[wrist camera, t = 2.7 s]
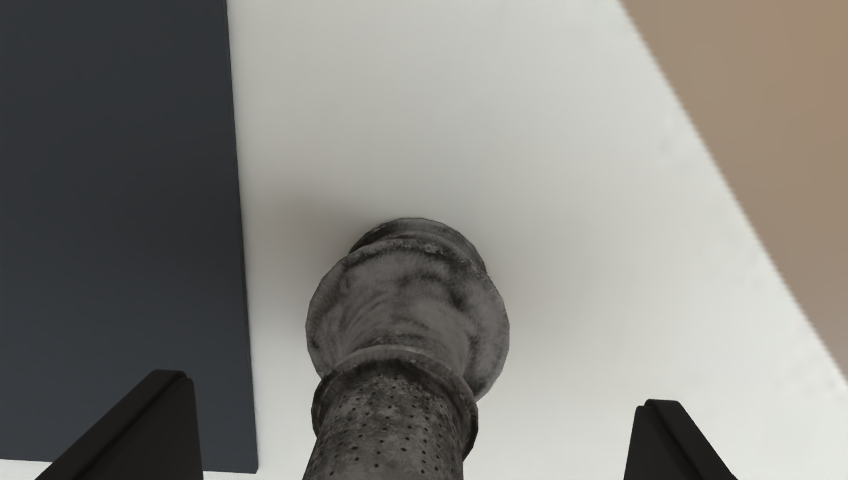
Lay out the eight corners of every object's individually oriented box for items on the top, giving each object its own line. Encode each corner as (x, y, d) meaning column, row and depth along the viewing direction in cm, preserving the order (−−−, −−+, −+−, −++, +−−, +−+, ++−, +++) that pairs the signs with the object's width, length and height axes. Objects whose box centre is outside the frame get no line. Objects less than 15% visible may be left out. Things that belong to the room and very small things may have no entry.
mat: (-183, -117, 15) (-195, -121, 15) (219, -106, 15) (214, -110, 15) (-34, 451, 21) (-41, 457, 21) (258, 468, 21) (255, 474, 20)
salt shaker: (362, 183, 17) (196, 379, 6) (525, 245, 18) (677, 546, 6) (310, 332, 19) (99, 717, 7) (459, 386, 19) (482, 832, 8)
